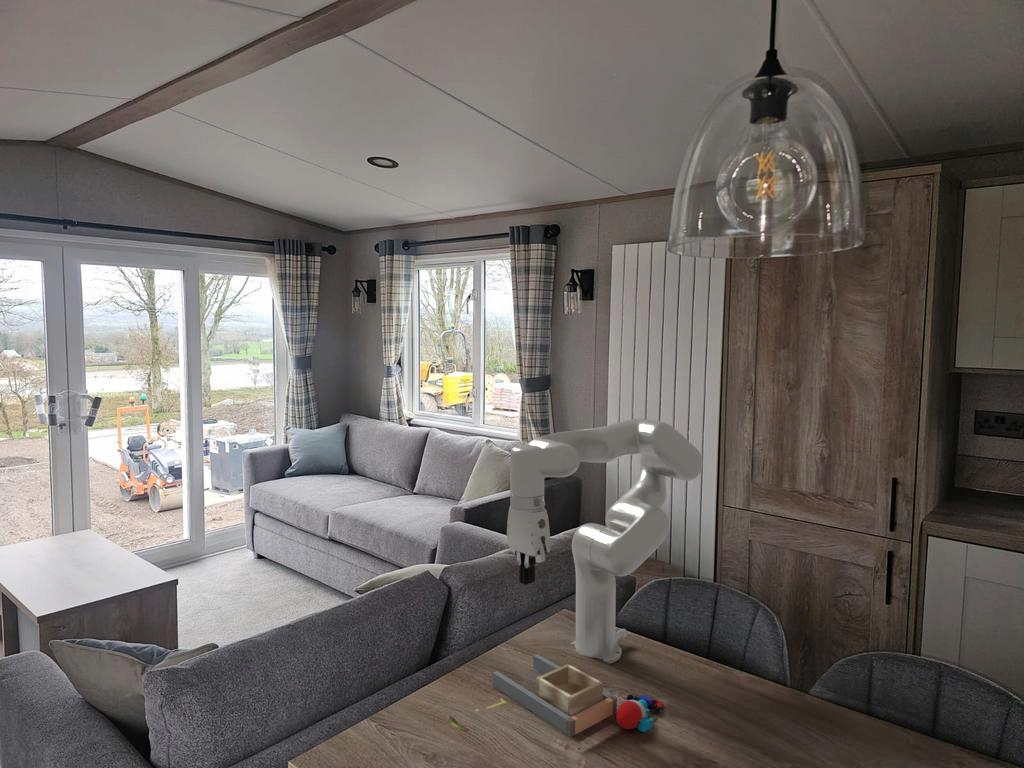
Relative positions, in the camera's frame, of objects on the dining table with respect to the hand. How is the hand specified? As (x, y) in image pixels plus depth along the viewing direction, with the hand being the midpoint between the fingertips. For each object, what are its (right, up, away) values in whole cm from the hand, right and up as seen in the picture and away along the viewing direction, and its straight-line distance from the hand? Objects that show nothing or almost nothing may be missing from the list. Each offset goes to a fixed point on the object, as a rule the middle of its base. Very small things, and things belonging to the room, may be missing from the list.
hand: (527, 582), depth 150 cm
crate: (+8, -22, -13) cm, 27 cm away
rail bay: (+5, -23, -9) cm, 25 cm away
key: (-10, -24, -13) cm, 29 cm away
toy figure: (+22, -24, -14) cm, 35 cm away
